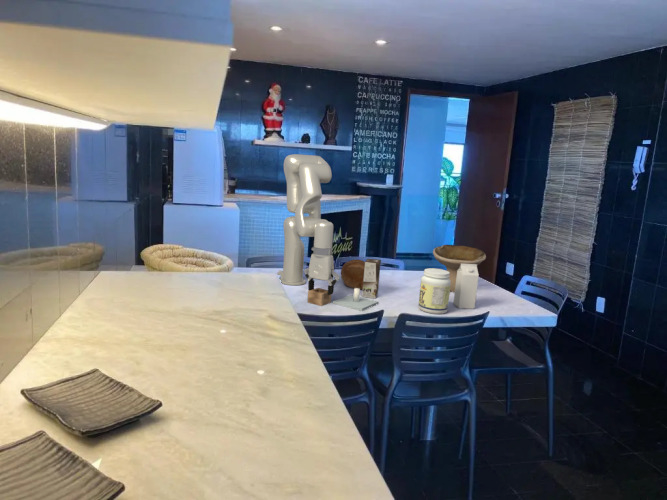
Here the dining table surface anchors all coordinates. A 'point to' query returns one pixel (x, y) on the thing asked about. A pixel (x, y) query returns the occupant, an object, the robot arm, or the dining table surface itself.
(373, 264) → the coffee box
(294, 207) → the robot arm
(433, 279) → the supplement tub
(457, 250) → the bowl
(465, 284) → the milk carton
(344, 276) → the bread
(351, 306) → the post plate
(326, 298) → the collar
